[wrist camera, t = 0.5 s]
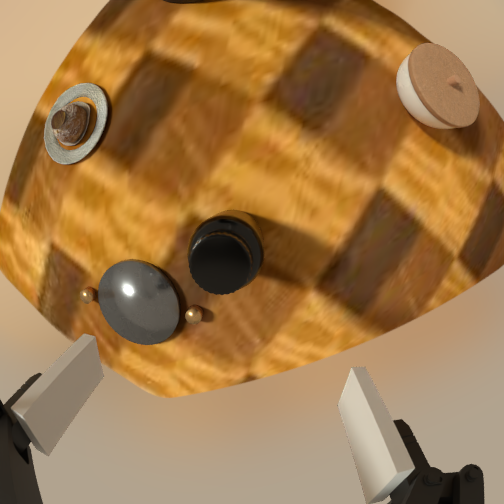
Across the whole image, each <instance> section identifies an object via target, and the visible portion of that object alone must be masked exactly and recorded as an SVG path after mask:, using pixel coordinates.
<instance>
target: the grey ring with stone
mask: <svg viewBox="0 0 504 504" xmlns="http://www.w3.org/2000/svg"><path fill="white" fill-rule="evenodd" d="M79 97H88V98H90V99H91V100H93V102H94V103H95V105H96V108H97V122H96V125H95V128H94V131H93V133H92V135H91V136H90V138H89V139H88V140H87V141H86V143H85V144H83V145H82V146H81V147H79V148H77V149H75V150H66V149H64V148H62V147H61V146H60V145H59V143H58V141H57V139H59V140H60V142H61V143H62V144H64V145H69V146H70V145H71V146H72V145H76V144H77V143H78V142H79V141H80V140H81V139H82V137H83V136H84V134H85V132H86V130H87V126H88V123H89V116H90V107H89V105H88V104H86V103H84V102H79V101H78V102H73V103H71V104H69V103H70V102H71V101H73V100H74V99H76V98H79ZM68 104H69V105H68ZM107 114H108V106H107V100H106V97H105V95H104V93H103V91H102V89H100V88H99V87H98V86H97V85H95V84H92V83H81V84H78V85H75V86H73V87H71V88H69V89H68V90H66V91H65V92H64V93H63V94H62V95H61V96H60V97H59V98H58V100H57V101H56V102H55V104H54V106H53V107H52V109H51V111H50V113H49V116H48V118H47V121H46V125H45V131H44V139H45V146H46V149H47V151H48V153H49V155H50V157H51V158H52V159H53V160H54V161H56V162H58V163H60V164H72V163H75V162H78V161H80V160H81V159H83V158H84V157H85V156H87V155H88V153H90V152H91V150H92V149H93V148H94V147H95V145H96V144H97V142H98V141H99V139H100V137H101V135H102V132H103V130H104V127H105V124H106V120H107ZM79 137H81V138H80V139H79ZM78 139H79V140H78Z"/></svg>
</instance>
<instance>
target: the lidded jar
mask: <svg viewBox="0 0 504 504" xmlns="http://www.w3.org/2000/svg"><path fill="white" fill-rule="evenodd" d="M396 85H397V91H398V95H399V97H400V100H401V102H402V103H403V105H404V107H405V108H406V110H407V111H408V112H409V113H410V114H411V115H412V116H413V117H414V118H415V119H417V120H418V121H419V122H421V123H423V124H425V125H427V126H429V127H433V128H437V129H452V128H462V127H467V126H469V125H471V124H472V123H473V122H474V121H475V120H476V118H477V116H478V112H479V104H480V103H479V95H478V91H477V88H476V85H475V82H474V80H473V78H472V76H471V74H470V72H469V71H468V69H467V68H466V67H465V65H464V64H463V63H462V62H461V61H460V59H459V58H457V56H455V55H454V54H453V53H452V52H450V51H449V50H448V49H446V48H444V47H442V46H440V45H437V44H433V43H423V44H420V45H418V46H417V47H416V48H415V49H414V50H413V51H412V52H411V53H410V54H409V55H408V56H407V57H406V58H405V59H404V61H403V62H402V63H401V65H400V67H399V69H398V73H397V78H396Z"/></svg>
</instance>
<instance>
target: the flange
mask: <svg viewBox="0 0 504 504" xmlns="http://www.w3.org/2000/svg"><path fill="white" fill-rule="evenodd" d="M80 297H81V300H82V301H83V302H84V303H86V304H88V303H90V302H91V301H93V300H94V299H95V298H96V292H95V290H94V289H93V288H92V287H87V288H86V289H84V290H82V291H81V293H80ZM98 299H99V304H100V308H101V311H102V313H103V315H104V317H105V319H106V321H107V322H108V324H109V325H110V326H111V327H112V328H113V329H114V330H115V331H116V332H117V333H118V334H119V335H121V336H122V337H124V338H125V339H127V340H129V341H131V342H134V343H137V344H143V345H152V344H157V343H160V342H162V341H164V340H166V339H167V338H168V337H169V336H170V335H171V334H172V333H173V331H174V330H175V328H176V326H177V324H178V322H179V318H180V312H181V307H180V300H179V296H178V293H177V291H176V289H175V287H174V285H173V284H172V282H171V281H170V279H169V278H168V277H167V276H166V275H165V274H164V273H163V272H162V271H161V270H160V269H158V268H157V267H155V266H154V265H152V264H150V263H148V262H145V261H141V260H135V259H130V260H124V261H121V262H119V263H117V264H115V265H113V266H112V267H110V268H109V269H108V270H107V271H106V272H105V273H104V275H103V277H102V278H101V281H100V284H99V289H98ZM202 316H203V310H202V308H201V307H200V306H198V305H192V306H190V307H189V309H188V311H187V312H186V315H185V318H186V320H187V321H188V322H189V323H191V324H198V323H199V322H200V321H201V318H202Z"/></svg>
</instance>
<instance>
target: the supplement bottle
mask: <svg viewBox="0 0 504 504" xmlns="http://www.w3.org/2000/svg"><path fill="white" fill-rule="evenodd" d="M187 255H188V261H189V268H190V273H191V274H192V278H193V279H194V280H195V282H196V283H197V284H198V285H199V286H200V287H201V288H203V289H204V290H205V291H208V292H209V293H214V294H216V295H217V294H220V295H224V294H229V293H234V292H235V291H236V290H239V289H241V288H243V287H245V286H247V285H248V284H250V283H251V282H252V281H253V280H254V279H255V278H256V277H257V275H258V274H259V272H260V270H261V268H262V265H263V262H264V243H263V236H262V232H261V229H260V227H259V225H258V223H257V222H256V221H255V219H254V218H253V217H251V216H250V215H248V214H247V213H245V212H242V211H238V210H227V211H223V212H220V213H218V214H216V215H214V216H212V217H210V218H209V219H207V220H205V221H204V222H202V223H201V224H200V225H199V226H198V227H197V228H196V229H195V231H194V232H193V234H192V235H191V237H190V240H189V243H188V250H187Z"/></svg>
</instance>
